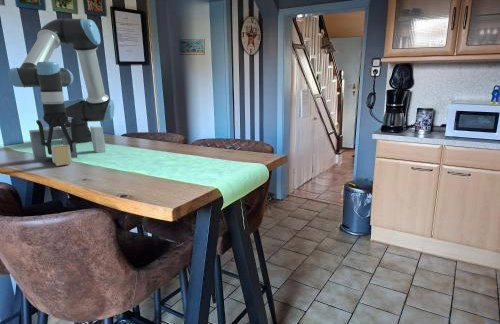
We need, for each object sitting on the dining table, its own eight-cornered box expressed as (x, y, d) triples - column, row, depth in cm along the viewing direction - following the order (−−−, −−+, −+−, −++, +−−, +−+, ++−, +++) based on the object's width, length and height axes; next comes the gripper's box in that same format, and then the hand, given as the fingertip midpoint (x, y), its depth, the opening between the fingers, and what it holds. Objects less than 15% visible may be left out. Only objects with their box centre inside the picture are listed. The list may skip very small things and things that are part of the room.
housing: (74, 154, 155) (70, 125, 151) (77, 157, 150) (73, 126, 147) (34, 160, 146) (28, 128, 142) (35, 162, 141) (30, 130, 137)
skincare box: (106, 151, 161) (103, 126, 158) (96, 153, 158) (93, 127, 155) (102, 149, 166) (99, 125, 163) (92, 150, 163) (89, 126, 160)
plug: (64, 156, 149) (61, 141, 147) (70, 163, 136) (67, 147, 135) (51, 158, 146) (48, 142, 144) (56, 165, 134) (53, 148, 132)
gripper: (77, 101, 139) (84, 156, 144) (25, 103, 128) (35, 162, 134) (80, 102, 133) (88, 159, 139) (26, 104, 122) (37, 166, 128)
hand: (62, 160), depth 136 cm, fingers closed on plug, 5 cm apart
